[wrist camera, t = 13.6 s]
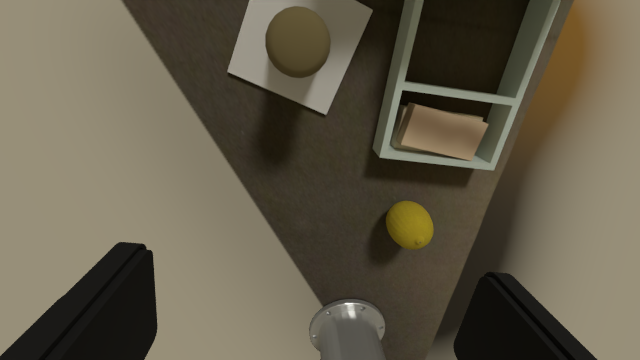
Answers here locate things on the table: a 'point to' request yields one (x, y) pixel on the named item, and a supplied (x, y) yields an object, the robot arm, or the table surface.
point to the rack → (504, 100)
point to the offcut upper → (440, 132)
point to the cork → (297, 42)
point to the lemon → (409, 225)
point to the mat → (320, 88)
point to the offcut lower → (400, 118)
